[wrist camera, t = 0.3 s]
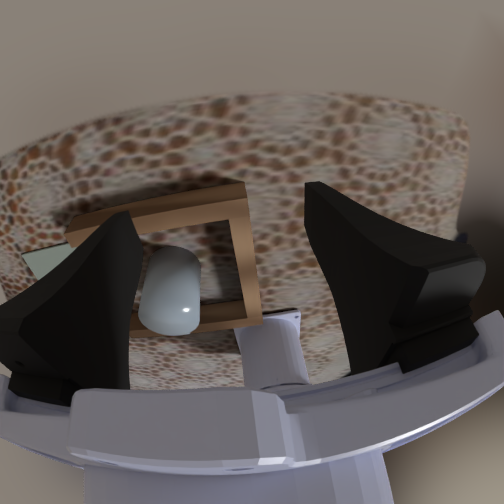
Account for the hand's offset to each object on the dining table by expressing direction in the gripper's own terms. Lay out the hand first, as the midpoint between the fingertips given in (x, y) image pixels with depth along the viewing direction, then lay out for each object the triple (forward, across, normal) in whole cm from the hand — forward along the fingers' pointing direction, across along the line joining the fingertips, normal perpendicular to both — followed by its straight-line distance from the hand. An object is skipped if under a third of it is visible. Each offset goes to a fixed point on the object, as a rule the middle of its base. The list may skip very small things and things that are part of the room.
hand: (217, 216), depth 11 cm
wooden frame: (+10, +6, +11) cm, 16 cm away
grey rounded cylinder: (+10, +6, +11) cm, 16 cm away
